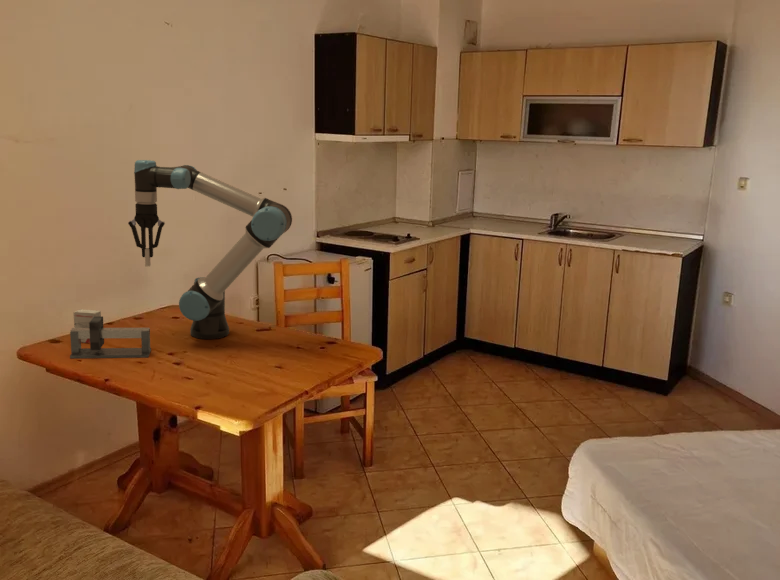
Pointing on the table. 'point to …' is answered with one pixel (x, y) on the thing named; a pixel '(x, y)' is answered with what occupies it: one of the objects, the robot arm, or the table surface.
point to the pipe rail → (80, 352)
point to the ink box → (84, 320)
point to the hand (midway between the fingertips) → (147, 265)
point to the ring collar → (96, 333)
